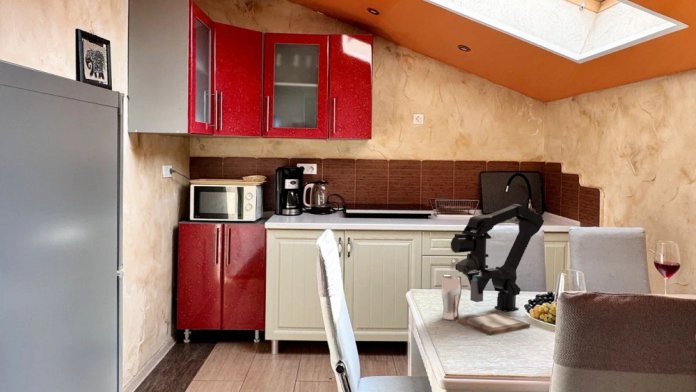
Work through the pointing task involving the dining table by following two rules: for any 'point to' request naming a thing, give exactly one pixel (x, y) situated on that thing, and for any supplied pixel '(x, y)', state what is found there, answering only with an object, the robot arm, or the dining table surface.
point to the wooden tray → (493, 323)
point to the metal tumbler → (451, 296)
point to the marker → (475, 290)
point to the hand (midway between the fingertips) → (476, 293)
